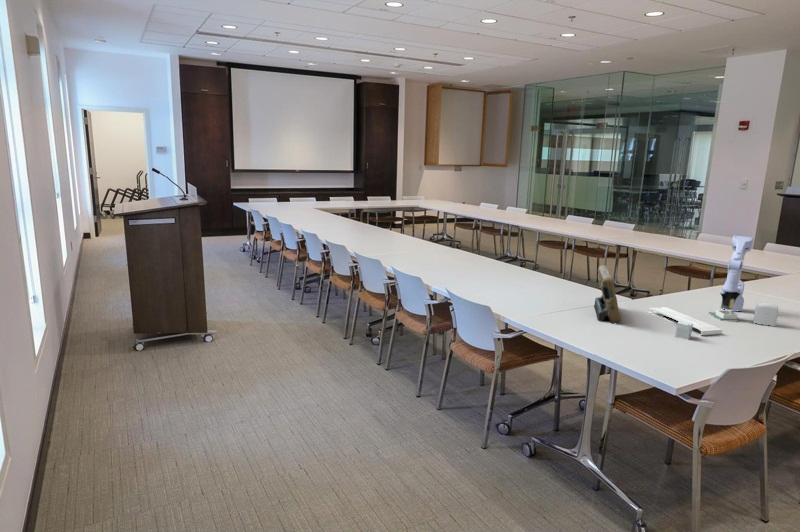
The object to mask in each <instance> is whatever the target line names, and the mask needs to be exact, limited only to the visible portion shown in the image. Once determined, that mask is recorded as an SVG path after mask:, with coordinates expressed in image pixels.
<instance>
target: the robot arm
mask: <svg viewBox="0 0 800 532" xmlns="http://www.w3.org/2000/svg"><path fill="white" fill-rule="evenodd" d="M753 244H754V237H752V236H751V237H750V236H743V235H742V236H741V235H735V234H734V235H733V237H732V240H731V249H732V250H734V251H733V252H732V255H731V258H730V260H729V261H728V264H727V276H726V280H725V282H724V284H723V287H722V288H721V289H720V290H719V294H720V296H721V299H723V305H725V306H728V303H729V300H730V298H734V304H733V309H729V311H731V310H732V311H731V312H734V311H737V310H738V311H743V309H744V304H745V299H744V297H743V295H744V289H745V283H744V282H743V281H742V280H741V276H742V271H743V267H744V261H745V255H746V254H747V253H748V252H751V250H752V247H753ZM722 310H724V308H723V309H722ZM726 310H727V309H725V310H724V311H726ZM727 311H728V310H727Z"/></svg>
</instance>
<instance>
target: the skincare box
mask: <svg viewBox="0 0 800 532" xmlns="http://www.w3.org/2000/svg"><path fill="white" fill-rule="evenodd" d="M693 328H694V327H693V323H690V322H686V321H681V320H680V321H678V322H677V324H676V328H675V335H674V337H676V338H679V339H683V340H687V341H688V340H689V339H690V338H691V337H692V331H693Z"/></svg>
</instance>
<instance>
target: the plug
mask: <svg viewBox="0 0 800 532" xmlns="http://www.w3.org/2000/svg"><path fill="white" fill-rule="evenodd" d="M721 299H722V298H721ZM720 304H721V305H720V307H721V308H720V309H722V308H724V309H727V310H729V309H733V304H734V298H730V300H729V303H728V306H725V305H723V299H722V300H721V303H720ZM724 309H723V310H724Z"/></svg>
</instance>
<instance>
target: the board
mask: <svg viewBox="0 0 800 532" xmlns="http://www.w3.org/2000/svg"><path fill="white" fill-rule="evenodd" d="M710 314H711V315H710ZM708 315H710V316H712V315H713V316H712V317H714V316H715V317H716V318H715V317H714V318H715V319H717V318H718V319H717V320H719V319H720V320H719V321H723V320H741V321H742V319H741V318H739V317H738V314H736V312H734V311H726V310H724V309H721V310H720V309H716V311H708Z"/></svg>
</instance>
